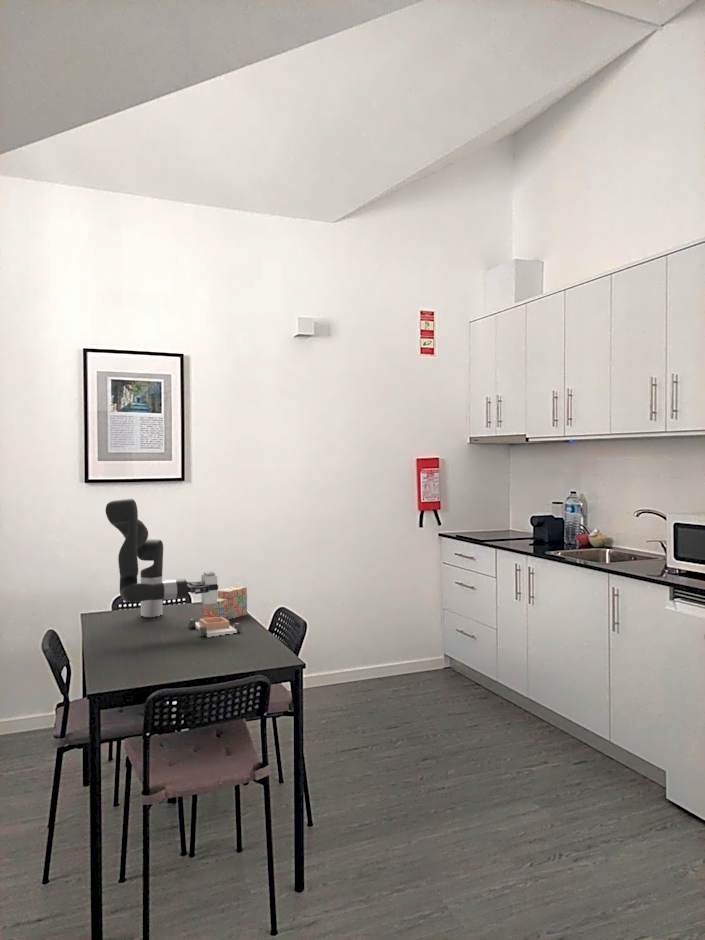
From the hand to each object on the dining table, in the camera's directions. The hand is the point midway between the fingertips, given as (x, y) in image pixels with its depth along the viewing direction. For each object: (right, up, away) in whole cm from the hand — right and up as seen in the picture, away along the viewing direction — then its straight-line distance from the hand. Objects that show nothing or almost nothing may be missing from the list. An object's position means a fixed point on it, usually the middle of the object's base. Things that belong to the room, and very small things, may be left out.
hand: (215, 585), depth 300 cm
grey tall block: (-2, -7, -1) cm, 7 cm away
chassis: (-1, -18, 0) cm, 18 cm away
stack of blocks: (+1, -18, +20) cm, 27 cm away
